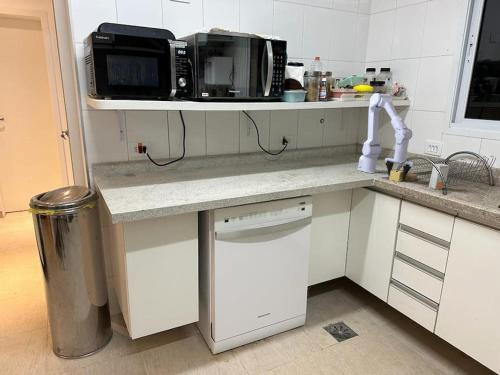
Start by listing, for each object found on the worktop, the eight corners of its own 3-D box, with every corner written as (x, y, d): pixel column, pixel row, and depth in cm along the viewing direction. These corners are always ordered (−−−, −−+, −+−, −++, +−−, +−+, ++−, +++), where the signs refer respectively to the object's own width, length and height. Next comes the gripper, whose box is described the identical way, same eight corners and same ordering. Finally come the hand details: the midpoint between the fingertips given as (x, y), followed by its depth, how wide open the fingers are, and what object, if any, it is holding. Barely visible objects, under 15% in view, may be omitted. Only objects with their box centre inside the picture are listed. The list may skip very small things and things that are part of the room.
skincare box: (434, 189, 171) (439, 165, 167) (428, 187, 174) (433, 163, 171) (444, 189, 172) (449, 165, 169) (438, 186, 176) (443, 163, 173)
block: (389, 179, 186) (390, 170, 184) (393, 178, 189) (394, 169, 188) (398, 181, 182) (399, 172, 181) (402, 180, 186) (404, 171, 184)
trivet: (393, 177, 190) (394, 173, 190) (400, 175, 197) (401, 171, 196) (410, 181, 184) (411, 176, 184) (416, 179, 190) (417, 174, 190)
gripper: (384, 150, 184) (380, 175, 188) (411, 154, 174) (406, 181, 178) (390, 149, 189) (386, 173, 192) (417, 153, 179) (412, 179, 182)
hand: (396, 177), depth 185 cm, fingers open, 7 cm apart
